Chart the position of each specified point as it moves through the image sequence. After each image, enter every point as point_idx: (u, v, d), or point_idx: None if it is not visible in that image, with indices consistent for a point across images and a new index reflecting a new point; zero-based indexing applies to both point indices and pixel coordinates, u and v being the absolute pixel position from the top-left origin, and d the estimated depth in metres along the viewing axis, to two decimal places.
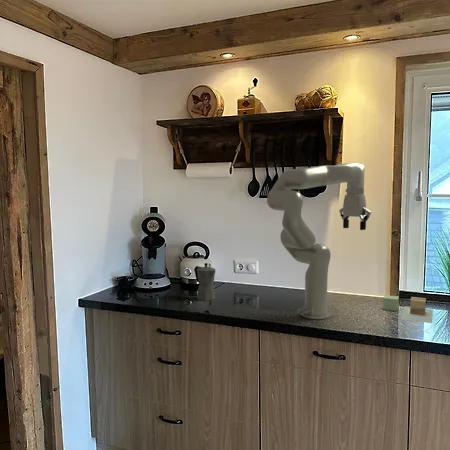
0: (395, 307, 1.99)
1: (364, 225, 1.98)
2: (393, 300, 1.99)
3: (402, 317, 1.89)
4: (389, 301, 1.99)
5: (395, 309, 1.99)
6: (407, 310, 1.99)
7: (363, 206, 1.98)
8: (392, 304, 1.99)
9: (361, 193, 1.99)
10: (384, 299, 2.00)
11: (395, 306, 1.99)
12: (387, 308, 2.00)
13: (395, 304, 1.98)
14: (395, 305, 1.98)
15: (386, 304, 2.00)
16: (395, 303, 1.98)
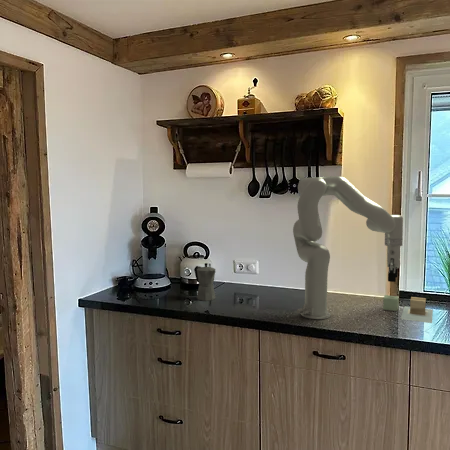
0: (395, 307, 1.99)
1: None
2: (393, 300, 1.99)
3: (402, 317, 1.89)
4: (389, 301, 1.99)
5: (395, 309, 1.99)
6: (407, 310, 1.99)
7: None
8: (392, 304, 1.99)
9: None
10: (384, 299, 2.00)
11: (395, 306, 1.99)
12: (387, 308, 2.00)
13: (395, 304, 1.98)
14: (395, 305, 1.98)
15: (386, 304, 2.00)
16: (395, 303, 1.98)
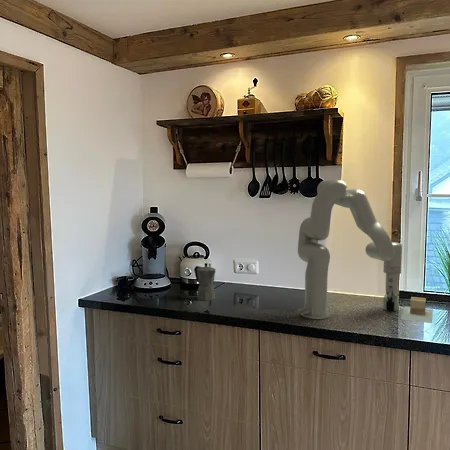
0: (395, 307, 1.99)
1: None
2: None
3: (402, 317, 1.89)
4: None
5: (395, 309, 1.99)
6: (407, 310, 1.99)
7: None
8: None
9: None
10: (384, 299, 2.00)
11: (395, 306, 1.98)
12: None
13: (395, 304, 1.98)
14: (395, 305, 1.98)
15: None
16: (395, 303, 1.98)
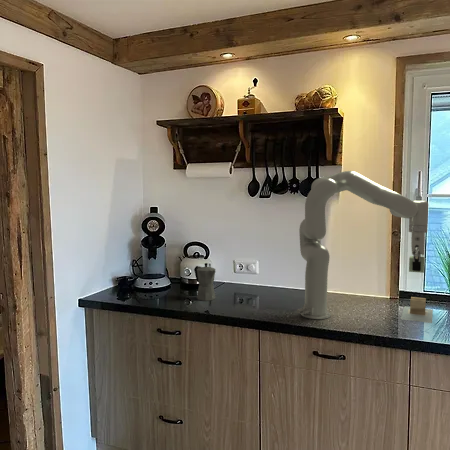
0: (422, 267, 1.91)
1: None
2: (420, 260, 1.92)
3: (402, 317, 1.89)
4: None
5: (422, 269, 1.92)
6: (407, 310, 1.99)
7: None
8: None
9: None
10: (410, 259, 1.93)
11: (422, 266, 1.91)
12: None
13: (422, 264, 1.91)
14: (422, 265, 1.91)
15: (412, 264, 1.93)
16: (422, 263, 1.91)
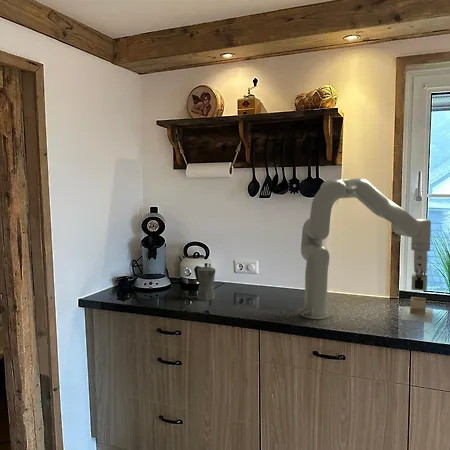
0: (424, 285, 1.91)
1: None
2: None
3: (402, 317, 1.89)
4: None
5: (424, 287, 1.91)
6: (407, 310, 1.99)
7: None
8: None
9: None
10: (413, 277, 1.93)
11: (424, 284, 1.91)
12: None
13: (424, 282, 1.91)
14: (424, 283, 1.91)
15: None
16: (424, 281, 1.91)
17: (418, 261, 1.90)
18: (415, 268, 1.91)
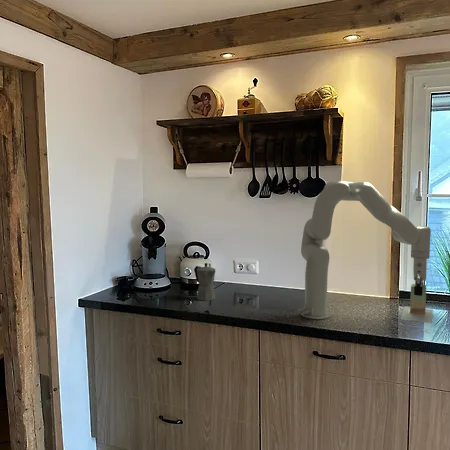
0: (423, 296, 1.92)
1: None
2: None
3: (402, 317, 1.89)
4: None
5: (423, 298, 1.92)
6: (407, 310, 1.99)
7: None
8: None
9: None
10: (412, 288, 1.94)
11: (423, 295, 1.92)
12: (415, 297, 1.93)
13: (423, 293, 1.92)
14: (423, 294, 1.92)
15: None
16: (423, 292, 1.92)
17: (418, 268, 1.90)
18: (415, 274, 1.91)
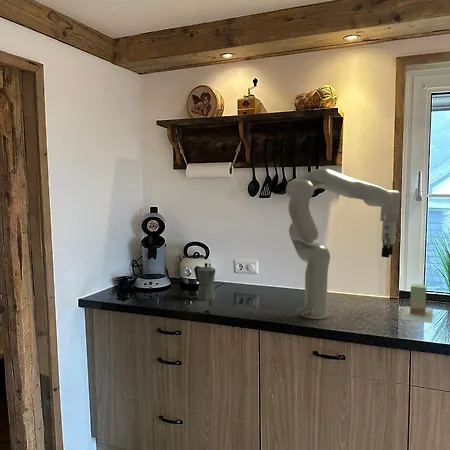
0: (423, 296, 1.92)
1: None
2: (421, 289, 1.92)
3: (402, 317, 1.89)
4: (417, 290, 1.93)
5: (423, 298, 1.92)
6: (407, 310, 1.99)
7: None
8: (420, 293, 1.92)
9: None
10: (412, 288, 1.94)
11: (423, 295, 1.92)
12: (415, 297, 1.93)
13: (423, 293, 1.92)
14: (423, 294, 1.92)
15: (414, 293, 1.93)
16: (423, 292, 1.92)
17: (385, 231, 1.94)
18: (383, 236, 1.95)
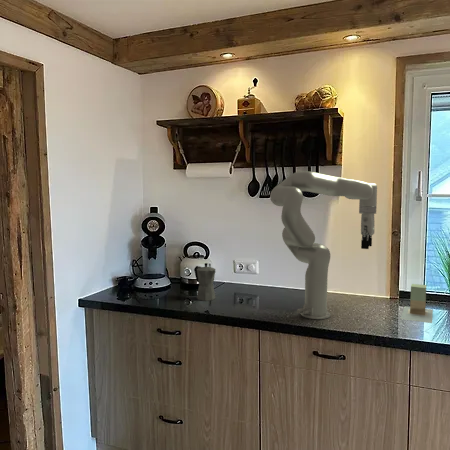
0: (423, 296, 1.92)
1: None
2: (421, 289, 1.92)
3: (402, 317, 1.89)
4: (417, 290, 1.93)
5: (423, 298, 1.92)
6: (407, 310, 1.99)
7: None
8: (420, 293, 1.92)
9: None
10: (412, 288, 1.94)
11: (423, 295, 1.92)
12: (415, 297, 1.93)
13: (423, 293, 1.92)
14: (423, 294, 1.92)
15: (414, 293, 1.93)
16: (423, 292, 1.92)
17: (364, 223, 1.98)
18: (361, 228, 1.99)
